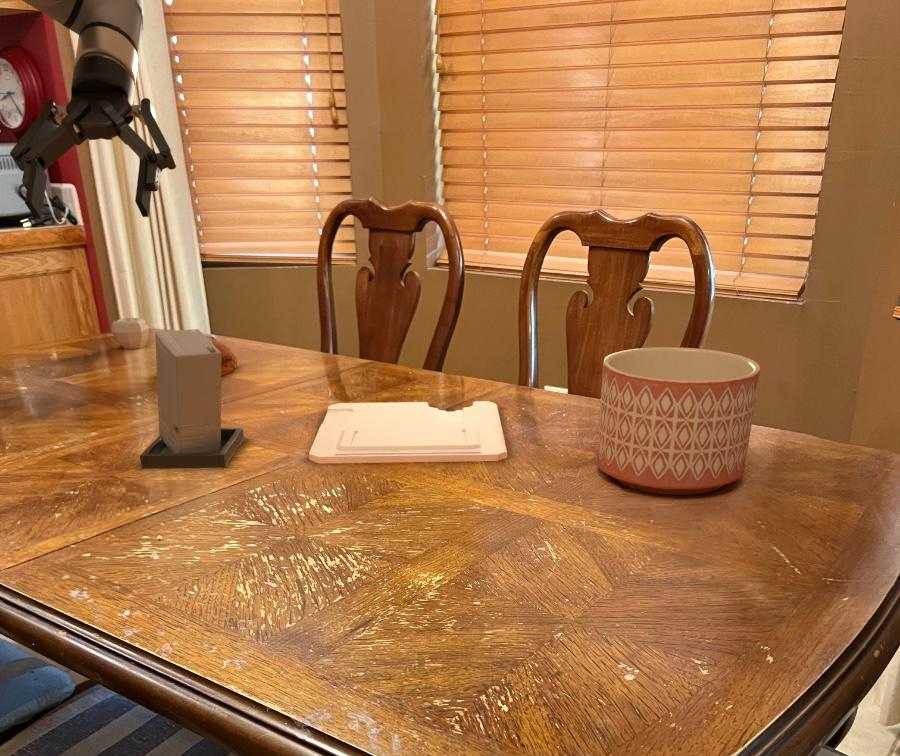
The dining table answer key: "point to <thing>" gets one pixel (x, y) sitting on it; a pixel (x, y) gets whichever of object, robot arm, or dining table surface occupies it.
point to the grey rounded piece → (130, 332)
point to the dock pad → (164, 458)
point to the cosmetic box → (188, 391)
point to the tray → (408, 433)
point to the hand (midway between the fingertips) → (87, 210)
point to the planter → (676, 418)
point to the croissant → (224, 357)
